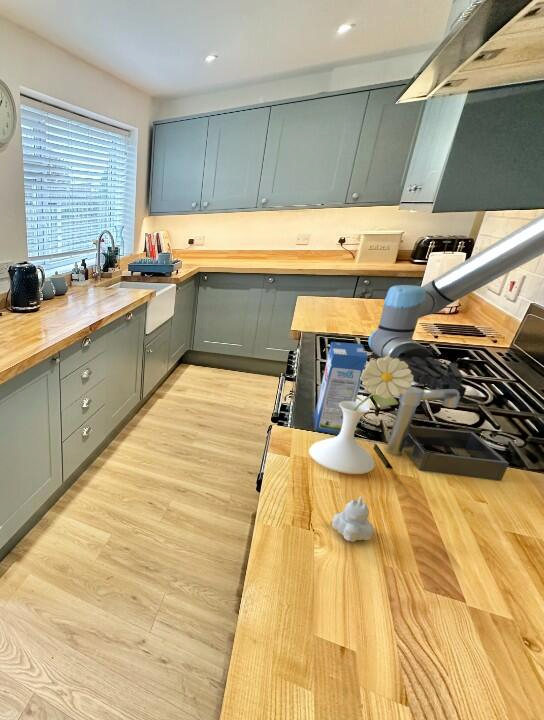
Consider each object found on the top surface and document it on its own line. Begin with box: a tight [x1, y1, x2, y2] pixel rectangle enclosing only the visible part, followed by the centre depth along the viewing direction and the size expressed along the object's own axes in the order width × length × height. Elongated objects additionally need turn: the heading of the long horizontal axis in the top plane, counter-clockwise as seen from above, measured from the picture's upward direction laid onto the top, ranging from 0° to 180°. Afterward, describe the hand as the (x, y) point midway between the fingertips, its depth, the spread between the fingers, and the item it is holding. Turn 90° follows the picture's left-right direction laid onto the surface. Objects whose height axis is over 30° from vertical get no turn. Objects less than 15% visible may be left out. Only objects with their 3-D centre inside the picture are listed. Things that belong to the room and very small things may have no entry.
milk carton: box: [314, 341, 369, 435], centre depth 101 cm, size 10×6×20 cm, turn 149°
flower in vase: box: [308, 356, 414, 475], centre depth 84 cm, size 13×11×25 cm
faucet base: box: [373, 402, 418, 469], centre depth 87 cm, size 4×8×13 cm, turn 159°
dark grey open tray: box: [402, 425, 510, 482], centre depth 86 cm, size 12×12×6 cm
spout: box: [398, 386, 461, 409], centre depth 84 cm, size 11×3×4 cm, turn 87°
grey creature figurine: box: [331, 496, 374, 543], centre depth 69 cm, size 5×7×8 cm
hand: (460, 394), depth 84 cm, fingers closed
